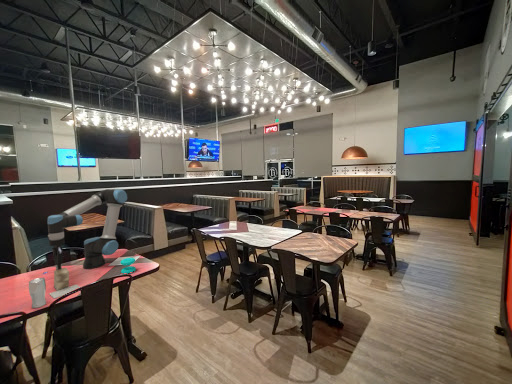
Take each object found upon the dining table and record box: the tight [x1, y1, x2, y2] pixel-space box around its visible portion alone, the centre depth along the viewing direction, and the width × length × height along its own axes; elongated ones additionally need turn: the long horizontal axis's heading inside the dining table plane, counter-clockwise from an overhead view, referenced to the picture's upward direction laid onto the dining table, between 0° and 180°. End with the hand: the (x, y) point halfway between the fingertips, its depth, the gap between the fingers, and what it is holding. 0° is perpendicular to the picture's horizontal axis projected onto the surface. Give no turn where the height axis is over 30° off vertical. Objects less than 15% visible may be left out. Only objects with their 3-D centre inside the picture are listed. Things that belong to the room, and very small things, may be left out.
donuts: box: [120, 257, 137, 275], centre depth 171 cm, size 10×10×10 cm
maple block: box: [53, 267, 70, 291], centre depth 147 cm, size 6×6×12 cm
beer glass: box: [28, 277, 47, 309], centre depth 127 cm, size 7×7×15 cm
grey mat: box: [48, 284, 81, 299], centre depth 143 cm, size 14×10×1 cm
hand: (59, 273), depth 148 cm, fingers closed
